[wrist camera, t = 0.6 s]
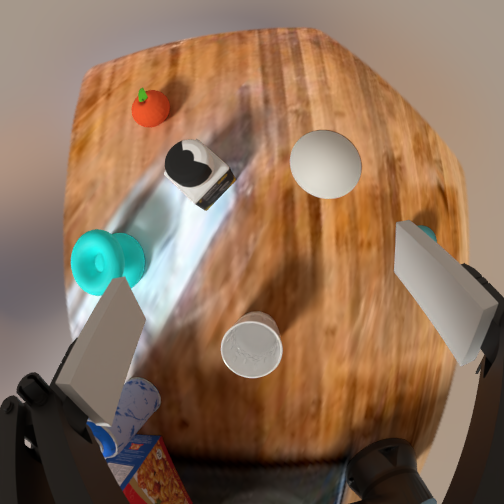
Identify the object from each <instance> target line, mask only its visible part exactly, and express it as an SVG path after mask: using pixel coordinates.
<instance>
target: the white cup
mask: <svg viewBox="0 0 504 504" xmlns="http://www.w3.org/2000/svg"><path fill="white" fill-rule="evenodd" d="M282 351H283V349H282V343H281V337H280V333H279V330H278V327H277V325H276V322H275V321H274V320H273V319H272V317H271V316H270V315H268V314H266V313H263V312H261V311H255V312H249V313H247V314H245V315H243V316H242V317H241V318H240V319H238V320H237V321H236V322H235V323H234V325H233V326H232V327H231V328H230V329H229V330H228V331H227V332H226V334H225V335H224V337H223V340H222V343H221V354H222V358H223V360H224V362H225V364H226V365H227V366H228V368H229V369H230V370H232V371H233V372H234V373H236V374H238V375H240V376H243V377H247V378H258V377H262V376H265V375H267V374H269V373H271V372H272V371H273V370H274V369H275V368H276V367H277V366H278V364H279V362H280V360H281V357H282Z"/></svg>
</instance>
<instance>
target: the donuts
mask: <svg viewBox="0 0 504 504" xmlns="http://www.w3.org/2000/svg"><path fill="white" fill-rule="evenodd" d="M144 267H145V257H144V253H143V250H142V248H141V246H140V244H139V243H138V241H137V240H136V239H134V238H133V237H132V236H130V235H128V234H125V233H115V234H110V233H109V232H107V231H104V230H99V229H95V230H91V231H88V232H86V233H85V234H83V235H82V236H81V237H80V238H79V239H78V241H77V242H76V244H75V246H74V248H73V251H72V256H71V268H72V273H73V276H74V278H75V280H76V282H77V284H78V285H79V286H80V287H81V288H82V289H83V290H84V291H85V292H87V293H89V294H91V295H96V296H101V295H103V293H104V292H105V290H106V288H107V287H108V285H109V284H110V282H111V280H112V279H114V278H119V277H124V276H125V278H126V280H127V282H128V284H129V286H130V288H132V287H134V286H135V285H136V284H137V283H138V282H139V280H140V279H141V277H142V275H143V272H144Z"/></svg>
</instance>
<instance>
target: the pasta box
mask: <svg viewBox="0 0 504 504" xmlns="http://www.w3.org/2000/svg"><path fill="white" fill-rule="evenodd" d="M106 462H107V464H108V466H109V468H110V470H111V471H112V473H113V475H114V477H115V479H116V481H117V482H118V484H119V486H120V488H121V489H122V491H123V493H124V494H125V496H126V498H127V499H128V501H129V502H130V504H193V503H192V501H191V499H190V497H189V495H188V493H187V491H186V489H185V487H184V485H183V483H182V481H181V479H180V477H179V475H178V473H177V471H176V469H175V466H174V464H173V462H172V460H171V458H170V455H169V453H168V451H167V448H166V446H165V444H164V441H163V439H162V436H156V435H139V434H135V435H134V437H133V438H132V439H131V440H130V441H129V443H128V444H127V445H126V446H125V447H124V448H123V450H122V451H121V452H120V453H119V454H118V455H116V456H115V457H112V458H107V459H106Z"/></svg>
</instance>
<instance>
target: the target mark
mask: <svg viewBox="0 0 504 504" xmlns="http://www.w3.org/2000/svg"><path fill="white" fill-rule="evenodd" d="M290 167H291V171H292V174H293V176H294V179H295V180H296V182H297V183H298V184H299V185H300V187H302V188H303V189H304V190H305V191H306V192H308V193H310V194H311V195H313V196H316V197H319V198H325V199H333V198H338V197H341V196H344V195H346V194H347V193H349V192H350V191H351V190H352V189H353V188H354V187H355V186H356V184H357V183H358V181H359V178H360V175H361V160H360V157H359V154H358V152H357V150H356V148H355V147H354V145H353V144H352V143H351V142H350V141H349V140H348V139H346V138H345V137H344V136H342V135H340V134H338V133H335V132H332V131H327V130H319V131H313V132H310V133H308V134H306V135H304V136H303V137H301V138H300V139H299V140H298V141H297V142H296V144H295V145H294V147H293V149H292V152H291V156H290Z"/></svg>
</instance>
